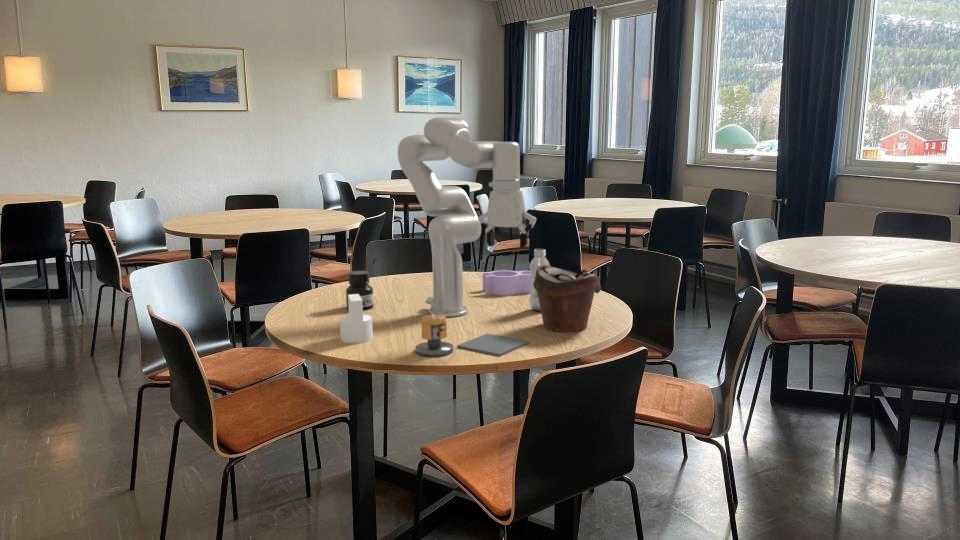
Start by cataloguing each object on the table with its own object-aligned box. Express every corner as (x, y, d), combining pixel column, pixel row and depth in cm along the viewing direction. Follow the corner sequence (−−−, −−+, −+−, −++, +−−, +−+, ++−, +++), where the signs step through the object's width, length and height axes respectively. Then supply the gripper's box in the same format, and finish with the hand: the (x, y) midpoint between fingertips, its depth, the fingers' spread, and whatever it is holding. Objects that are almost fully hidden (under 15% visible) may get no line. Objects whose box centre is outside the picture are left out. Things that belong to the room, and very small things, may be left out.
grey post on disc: (407, 352, 187) (406, 323, 185) (432, 343, 195) (431, 315, 193) (437, 359, 181) (436, 329, 179) (460, 349, 189) (460, 320, 187)
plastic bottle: (549, 312, 227) (549, 251, 223) (528, 312, 228) (528, 251, 225) (551, 308, 233) (551, 248, 229) (530, 307, 235) (530, 247, 231)
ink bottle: (353, 312, 230) (352, 276, 228) (340, 307, 237) (339, 272, 235) (379, 307, 237) (378, 272, 234) (366, 303, 243) (364, 269, 241)
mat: (457, 347, 191) (457, 345, 191) (487, 335, 202) (487, 333, 202) (500, 356, 183) (500, 354, 183) (528, 343, 194) (528, 341, 194)
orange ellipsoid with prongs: (421, 334, 190) (420, 314, 189) (444, 332, 191) (444, 312, 190) (423, 340, 183) (422, 320, 182) (447, 339, 184) (447, 318, 183)
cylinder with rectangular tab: (375, 341, 197) (373, 299, 195) (342, 344, 195) (340, 302, 193) (370, 333, 206) (368, 293, 204) (339, 336, 203) (337, 295, 201)
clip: (534, 287, 267) (534, 269, 266) (541, 294, 255) (541, 275, 253) (481, 289, 264) (481, 271, 263) (486, 296, 252) (486, 277, 251)
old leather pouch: (607, 333, 202) (607, 271, 199) (538, 336, 201) (537, 274, 198) (592, 318, 220) (593, 261, 217) (528, 321, 218) (528, 264, 215)
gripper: (473, 187, 199) (474, 247, 202) (531, 187, 192) (531, 249, 195) (483, 185, 205) (484, 243, 208) (540, 185, 199) (540, 246, 202)
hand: (507, 246), depth 202 cm, fingers open, 9 cm apart
